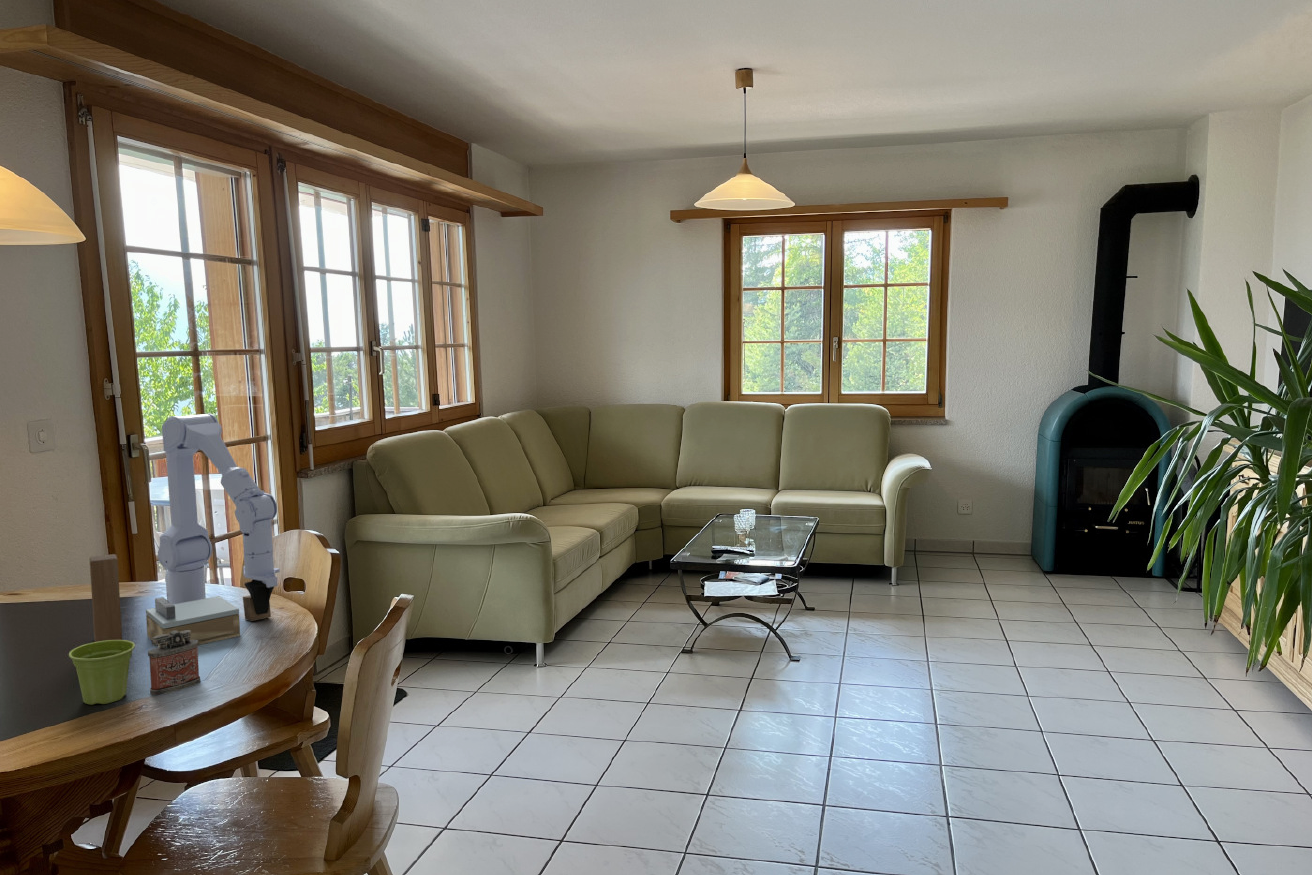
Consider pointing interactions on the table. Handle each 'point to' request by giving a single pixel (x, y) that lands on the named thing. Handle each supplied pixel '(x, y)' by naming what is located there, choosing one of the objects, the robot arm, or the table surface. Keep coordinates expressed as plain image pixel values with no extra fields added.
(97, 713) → the table surface
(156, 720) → the table surface
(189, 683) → the lighter
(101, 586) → the wooden block
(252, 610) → the small brown block
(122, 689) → the plant pot
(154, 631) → the brown piece
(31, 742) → the table surface
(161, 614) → the toolbox lid
